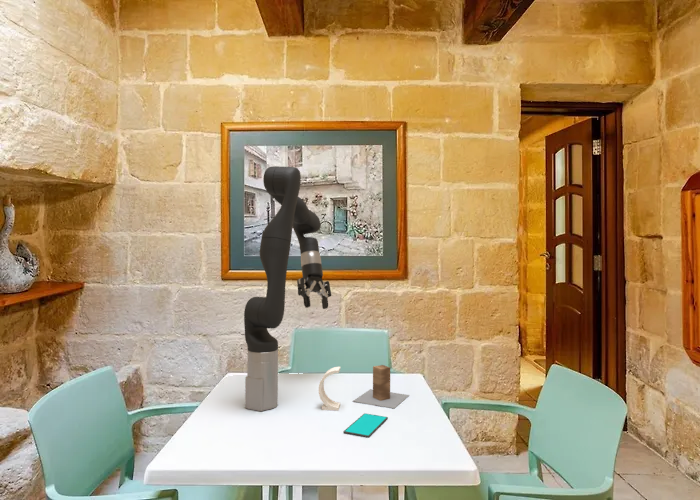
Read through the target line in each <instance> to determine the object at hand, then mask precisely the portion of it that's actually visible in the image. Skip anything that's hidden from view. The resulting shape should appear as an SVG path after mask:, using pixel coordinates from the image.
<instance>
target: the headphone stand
mask: <svg viewBox="0 0 700 500" xmlns="http://www.w3.org/2000/svg"><path fill="white" fill-rule="evenodd" d="M340 372H341V366H334V367H331V368H329V369H328V370H327V371H326V372H325V373H324V374H323V376H322V378H321V379H320V382H319V384H318V395H319V399H320V401H321V402H322V406H321V411H339V409H340V407H341V402H337V401H334V400H332V399H331V398H330V397H329V396H328V394H327V393H326V390H325V380H326V379H327V378H328V377H329V376H331V375H335V374H339V373H340Z"/></svg>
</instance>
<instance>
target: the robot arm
mask: <svg viewBox="0 0 700 500" xmlns="http://www.w3.org/2000/svg"><path fill="white" fill-rule="evenodd" d="M300 171H301V170H300V169H299V168H298V167H296V166H295V167H294V166H280V165H279V166H277V165H276V166H275V165H274V166H269V167H267V168H266V169H265V171H264V173H263V179H262V182H263V186H264V189H265V191H266V192H267V193H268V195H270V196H271V197H272V198H273V199H274V201H276V202H278V204H279V205H281V206H280V208H279V210H278V211H277V212H276V214H275V215H274V217H272V219H270V221H269V222H268V224H267V225H266V226H265V228H264V229H263V231H262V234H261V239H260V245H259V246H260V247H259V258H260V261H261V264H262V267H263V270H264V272H265V276H266V281H267V287H266V295H265V296H253V297H251V298H249V299H248V301H247V302H246V304H245V307H244V310H243V311H244V312H243V319H244V321H243V323H244V339H245V342H246V343H245V344H246V345H247V346H246V347H247V356H246V357H247V362H246V363H247V365H246V367H247V369H246V371H247V375H246V376H245V378H244V379H245V381H244V383H245V386H244V387H245V389H244V391H245V393H244V398H245V402H244V408H245V409H248V410H252V411H253V410H254V411H258V412H263V411H267V410H271V409H274V408H277V406H278V403H279V400H278V396H279V393H278V392H279V389H278V388H279V386H278V384H279V383H278V382H279V376H278V375H279V341H278V340H277V338H276V337H274V336H273V335H272V334H271V333H270V332H269V330H268V329H270V330H271V329H276V328H278V327H279V326H280V325H281V323H282V321H283V319H284V315H285V303H286V302H285V301H286V285H287V284H286V283H287V282H286V281H287V272H288V265H289V264H288V263H289V256H290V252H291V242H292V236H293V235H292V234H293V231H294V233H295V235H296V238H297V241H298V244H299V250H300V251H299V252H300V264H301V265H300V267H301V274H302V277H300V278H299V279H296V282H297V283H296V285H297V295H298V296H301V297H302V299H303V305H304V307H305V308H306V309H308V308H311V298H310V297H311V296H309V295H310V294H311V293H316V294H317V295H318V296H320V298H321V299H320V300H321V306H322V309H323V310H325V309H328V307H329V300H328V298H329V297H331V296H332V291H331V286H330V285H331V284H330V281H329V280H327V281H323V276H324V271H323V265H322V264H323V263H322V257H321V255H320V247H319V242H318V239H317V238H315V237H312V236H305V235H309V234H314V233H316V232H319V231H320V228H321V220H320V218H319V216H318V215H317V214H316V213H315V212H313V211H312V210H311V209H309V207H308V206H307V204H306V202H305V201H304V200H303V199H302V198H301V197H299V195H300V189H301V182H302V178H301V175H302V174H301V172H300Z"/></svg>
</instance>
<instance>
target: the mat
mask: <svg viewBox="0 0 700 500" xmlns="http://www.w3.org/2000/svg"><path fill="white" fill-rule="evenodd" d="M409 396H410V394H404V393H399V392H398V393H397V392H391V391H390V399H386V400H382V401H379V400H377V399H375V398H373V388H372V389H371V388H370V389H368V390H367V391H365V392H364V393H362V394H361V395H359V396H357V398H355V399H354V400H352V402H353V403H359V404H363V405H364V404H365V405H371V406H376V407H383V408H387V409H396V408H397V407H398V406H400V404H402V403H403V402H404V401H405V400H406V399H407V398H409Z"/></svg>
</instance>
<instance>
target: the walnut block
mask: <svg viewBox="0 0 700 500" xmlns="http://www.w3.org/2000/svg"><path fill="white" fill-rule="evenodd" d="M372 390H373V398H375V399H377V400H379V401H382V400H386V399H390V392H391V367H390V366H386V365H384V364H380V365H373V367H372Z"/></svg>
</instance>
